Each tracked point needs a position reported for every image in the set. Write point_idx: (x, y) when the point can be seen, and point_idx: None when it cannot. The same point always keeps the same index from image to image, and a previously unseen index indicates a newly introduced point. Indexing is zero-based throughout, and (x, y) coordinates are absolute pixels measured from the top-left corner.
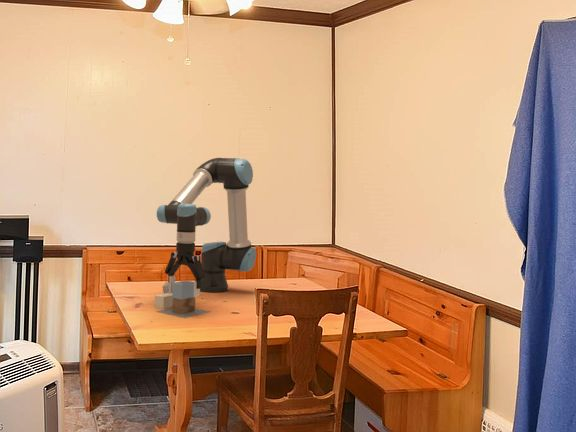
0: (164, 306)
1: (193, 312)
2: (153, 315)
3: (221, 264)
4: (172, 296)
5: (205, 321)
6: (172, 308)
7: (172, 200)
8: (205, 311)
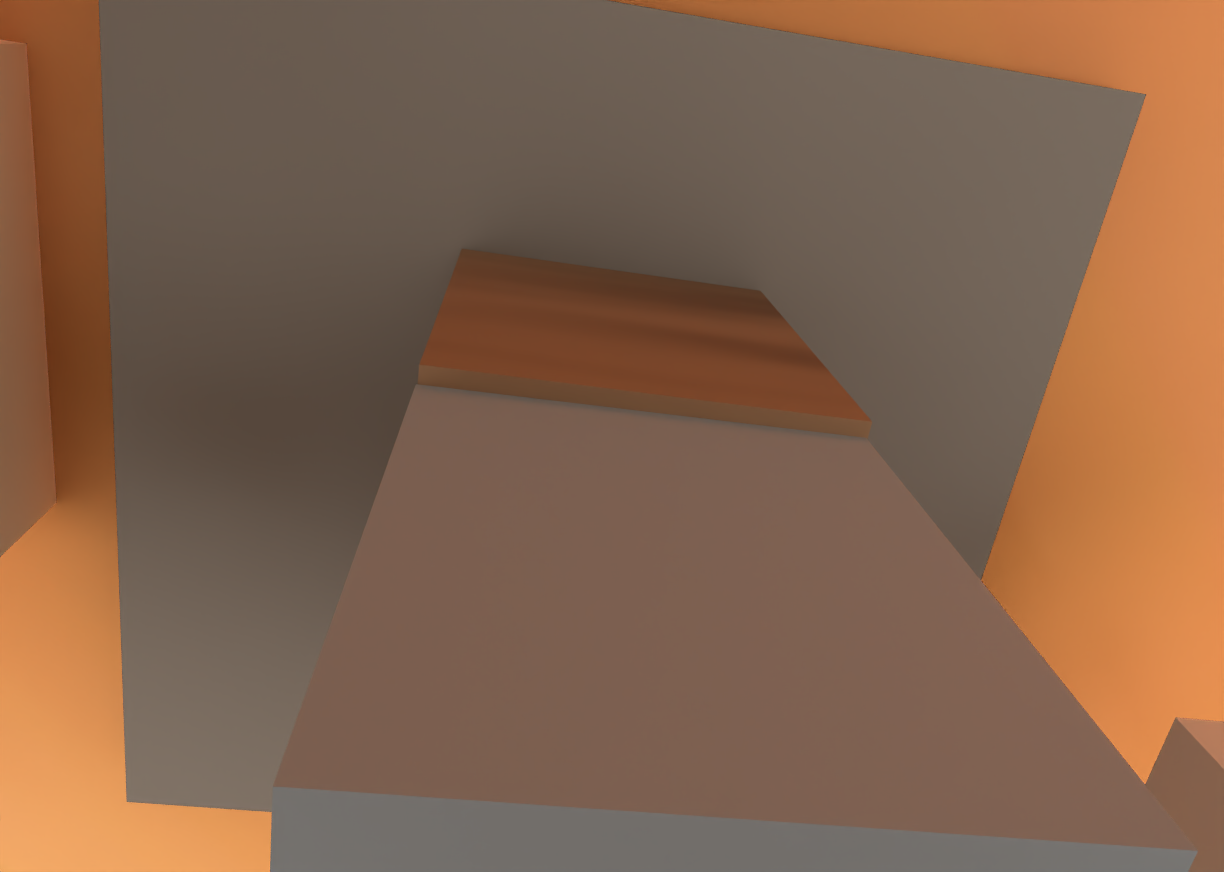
0: (3, 519)
1: None
2: (209, 852)
3: None
4: None
5: (1216, 674)
6: None
7: None
8: (1005, 176)
